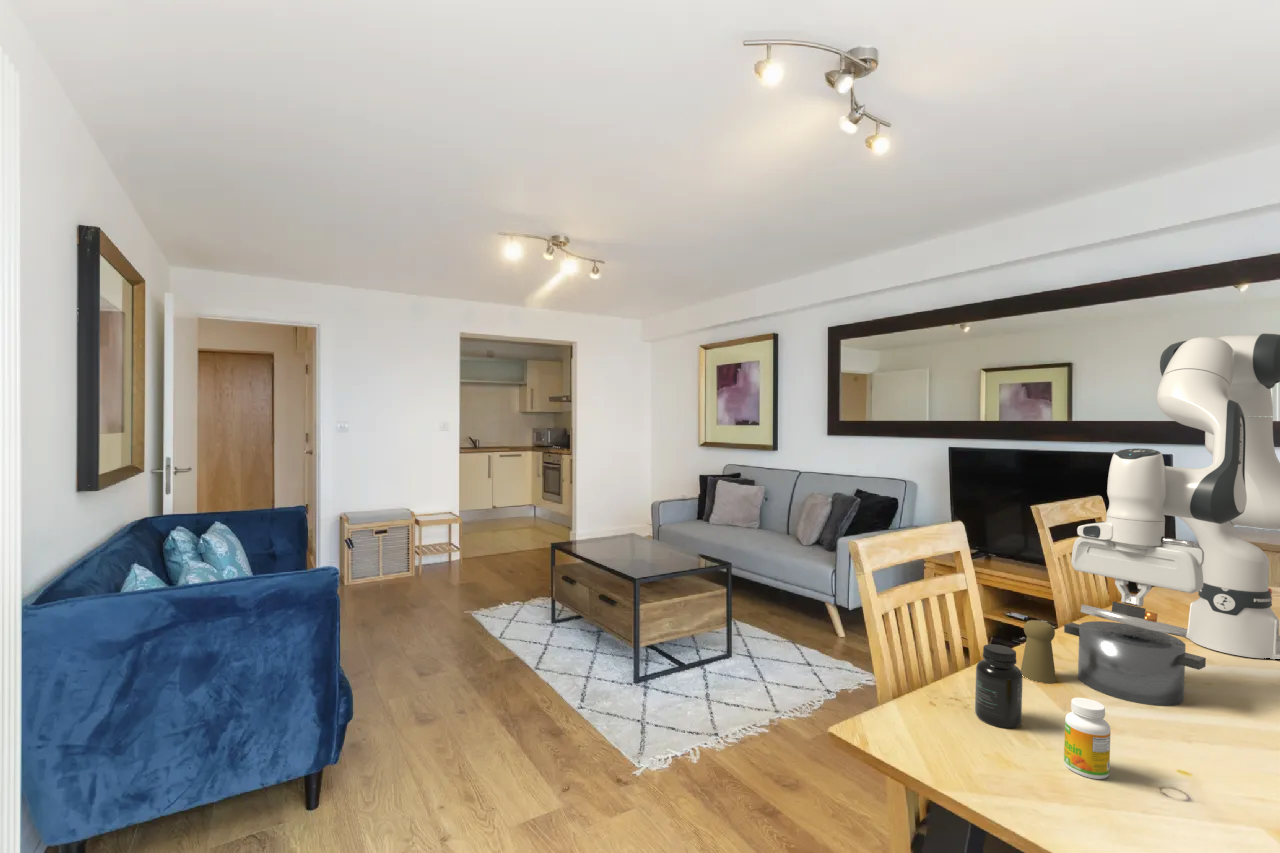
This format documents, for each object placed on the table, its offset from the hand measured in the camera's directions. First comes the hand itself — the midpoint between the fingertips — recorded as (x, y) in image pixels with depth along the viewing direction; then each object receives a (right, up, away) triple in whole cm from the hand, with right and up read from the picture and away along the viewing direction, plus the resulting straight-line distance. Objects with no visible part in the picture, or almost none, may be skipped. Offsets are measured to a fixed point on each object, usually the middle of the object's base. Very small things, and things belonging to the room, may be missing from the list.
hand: (1132, 604), depth 120 cm
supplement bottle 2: (-30, -16, -29) cm, 45 cm away
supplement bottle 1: (-34, -16, -14) cm, 40 cm away
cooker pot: (-1, -16, 0) cm, 16 cm away
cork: (-16, -16, +4) cm, 23 cm away
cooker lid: (0, -4, 0) cm, 4 cm away
